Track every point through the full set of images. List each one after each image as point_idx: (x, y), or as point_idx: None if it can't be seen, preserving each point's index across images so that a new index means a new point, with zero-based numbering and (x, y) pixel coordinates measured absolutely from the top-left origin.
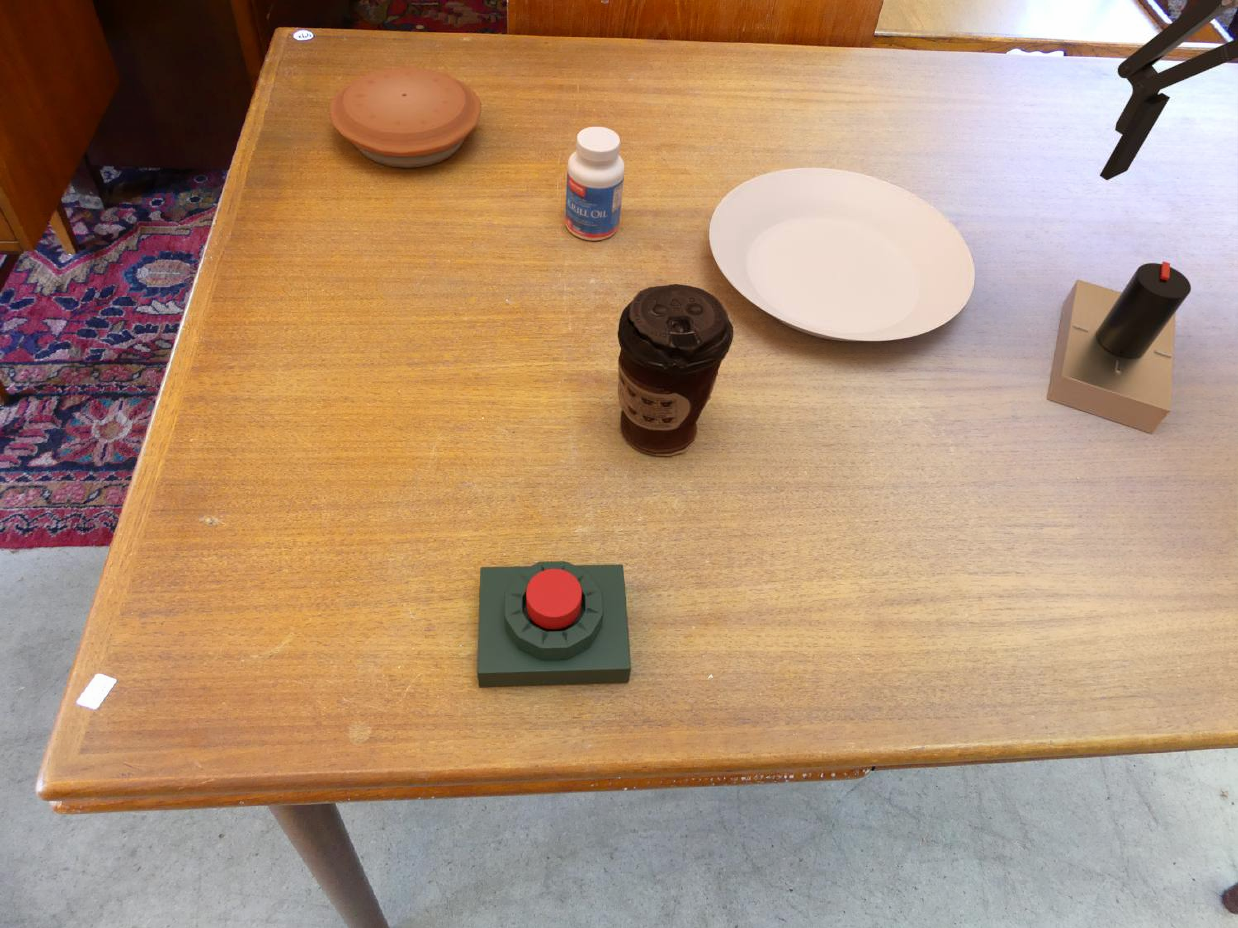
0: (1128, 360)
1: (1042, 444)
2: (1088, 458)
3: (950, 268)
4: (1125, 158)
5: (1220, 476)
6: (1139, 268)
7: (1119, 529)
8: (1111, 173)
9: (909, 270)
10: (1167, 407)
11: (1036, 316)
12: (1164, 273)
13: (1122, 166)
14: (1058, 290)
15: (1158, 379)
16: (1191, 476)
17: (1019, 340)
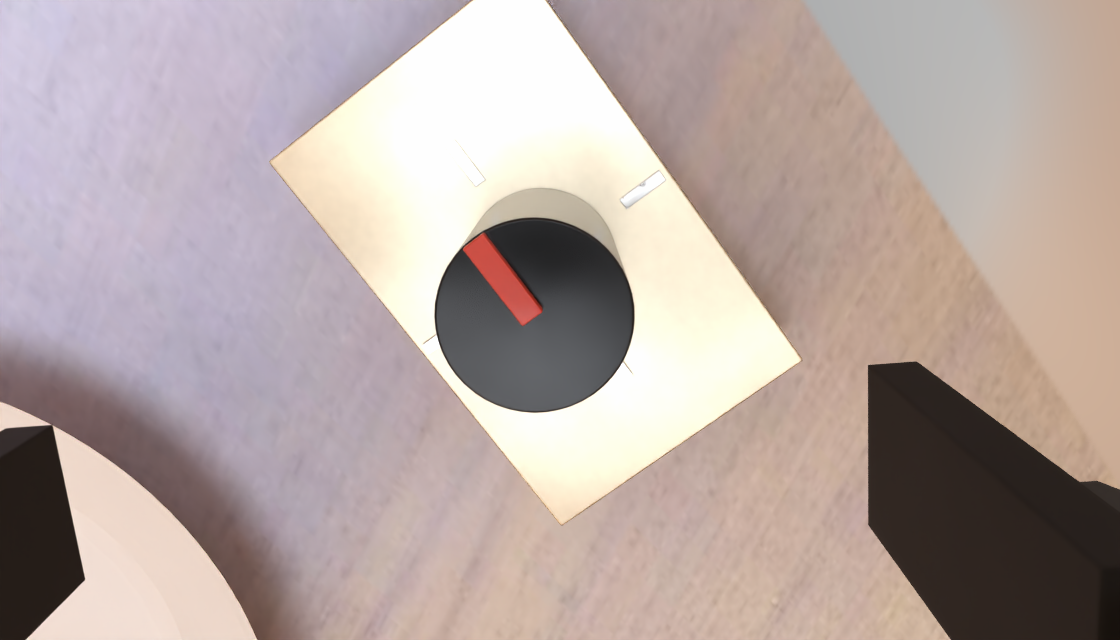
0: None
1: (662, 600)
2: (748, 536)
3: (72, 471)
4: (13, 574)
5: (966, 288)
6: (445, 350)
7: (921, 626)
8: (63, 594)
9: None
10: (790, 358)
11: (310, 276)
12: (515, 305)
13: (39, 527)
14: (246, 123)
15: (706, 292)
16: (923, 356)
17: (366, 393)
